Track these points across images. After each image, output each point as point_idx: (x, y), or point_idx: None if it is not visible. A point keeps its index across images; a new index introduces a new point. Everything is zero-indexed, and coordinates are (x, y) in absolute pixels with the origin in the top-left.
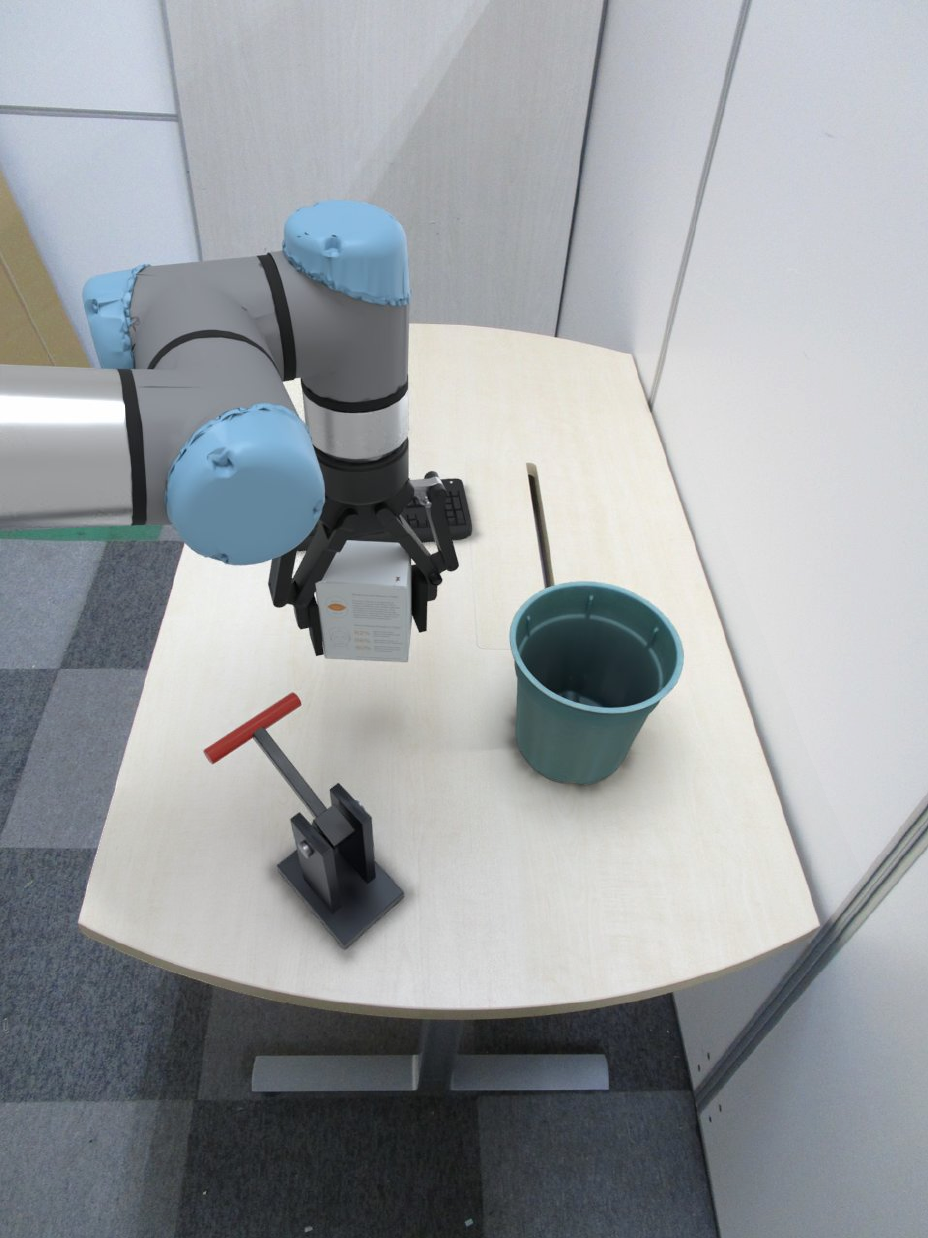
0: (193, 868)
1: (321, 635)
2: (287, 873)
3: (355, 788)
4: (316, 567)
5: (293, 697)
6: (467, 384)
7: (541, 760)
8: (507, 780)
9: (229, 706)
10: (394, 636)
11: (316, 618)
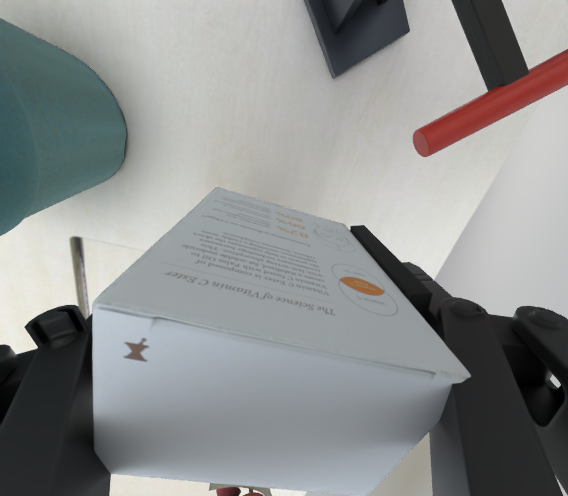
0: (475, 67)
1: (367, 246)
2: (402, 14)
3: (305, 120)
4: (540, 482)
5: (435, 137)
6: (146, 481)
7: (82, 71)
8: (142, 84)
9: (390, 240)
10: (226, 210)
11: (396, 272)
